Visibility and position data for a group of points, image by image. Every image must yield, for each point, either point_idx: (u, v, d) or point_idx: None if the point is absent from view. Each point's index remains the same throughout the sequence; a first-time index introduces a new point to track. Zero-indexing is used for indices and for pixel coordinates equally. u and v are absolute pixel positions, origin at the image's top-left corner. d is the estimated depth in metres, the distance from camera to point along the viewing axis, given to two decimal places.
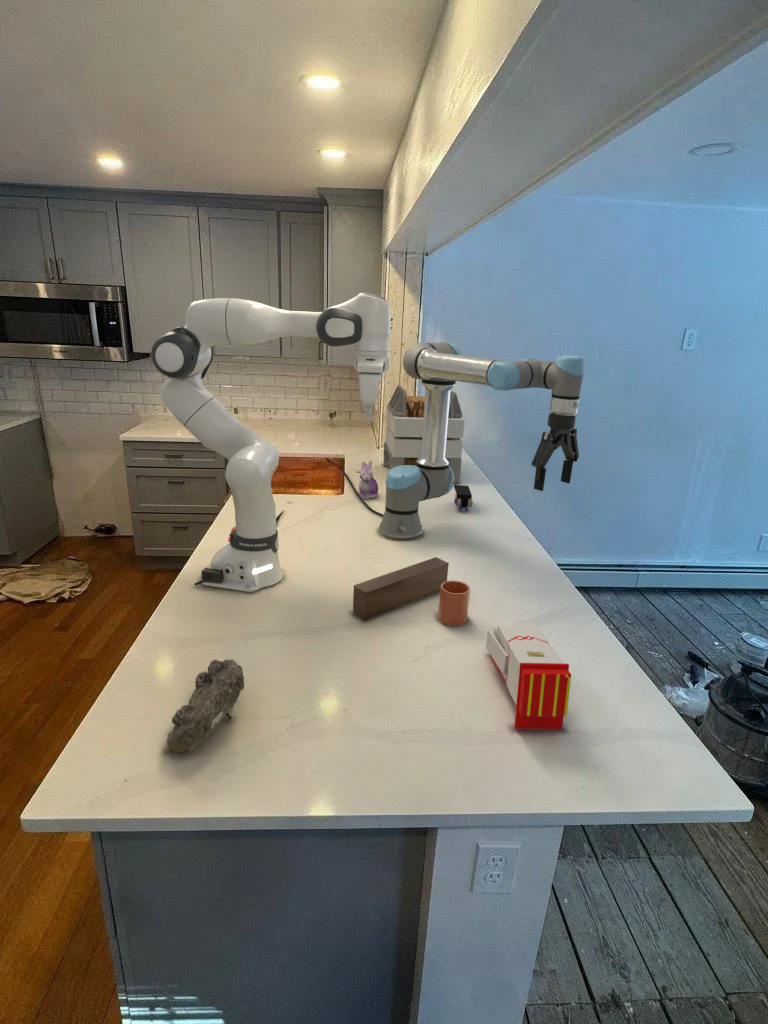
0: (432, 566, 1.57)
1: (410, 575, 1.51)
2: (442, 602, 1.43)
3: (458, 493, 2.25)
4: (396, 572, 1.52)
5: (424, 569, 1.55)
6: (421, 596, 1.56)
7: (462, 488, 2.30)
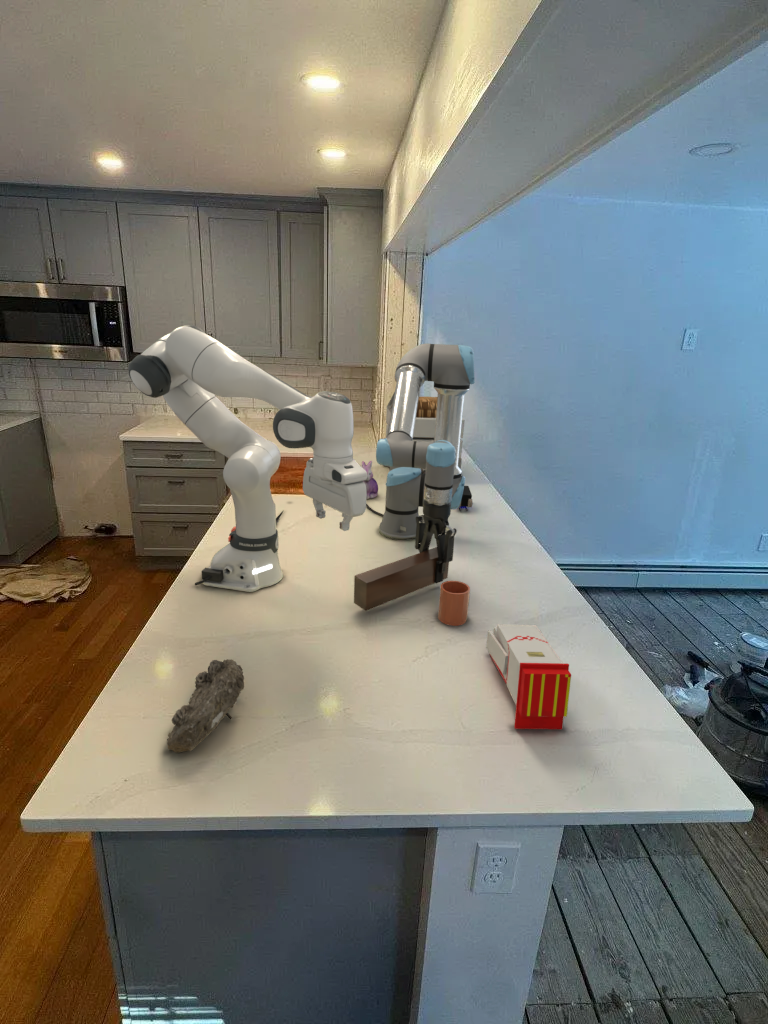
0: (434, 555, 1.57)
1: (411, 565, 1.51)
2: (442, 602, 1.43)
3: None
4: (397, 562, 1.52)
5: (425, 559, 1.55)
6: (422, 586, 1.55)
7: None
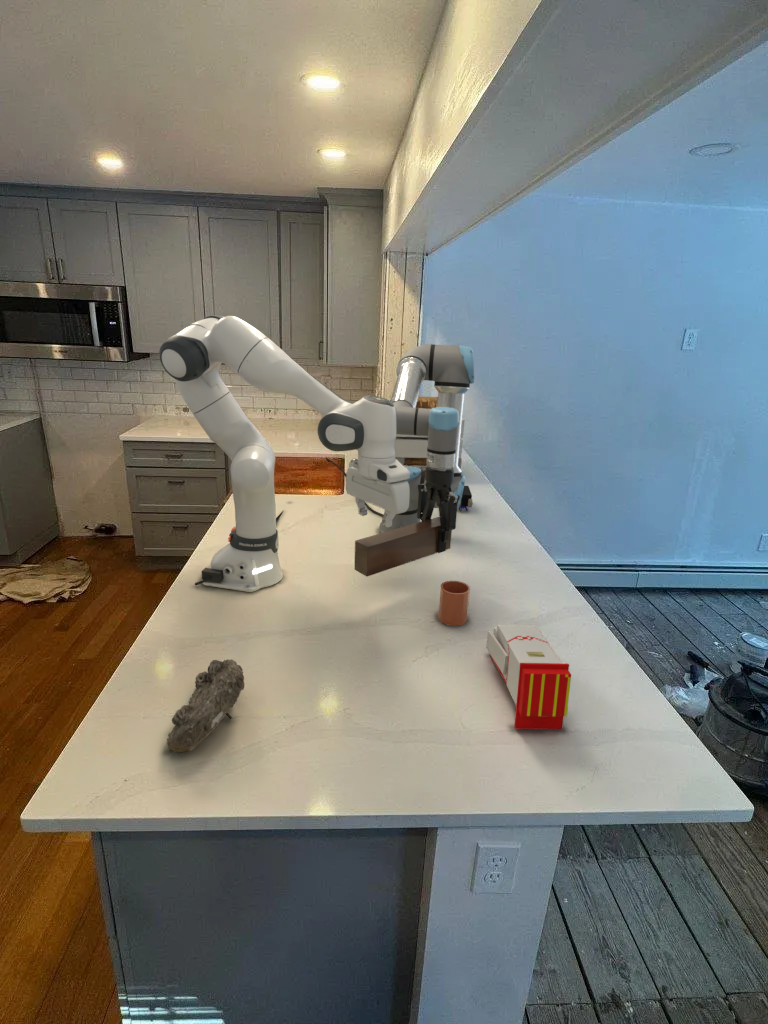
0: (436, 524, 1.53)
1: (413, 532, 1.47)
2: (442, 602, 1.43)
3: None
4: (399, 529, 1.48)
5: (428, 527, 1.51)
6: (424, 555, 1.52)
7: None
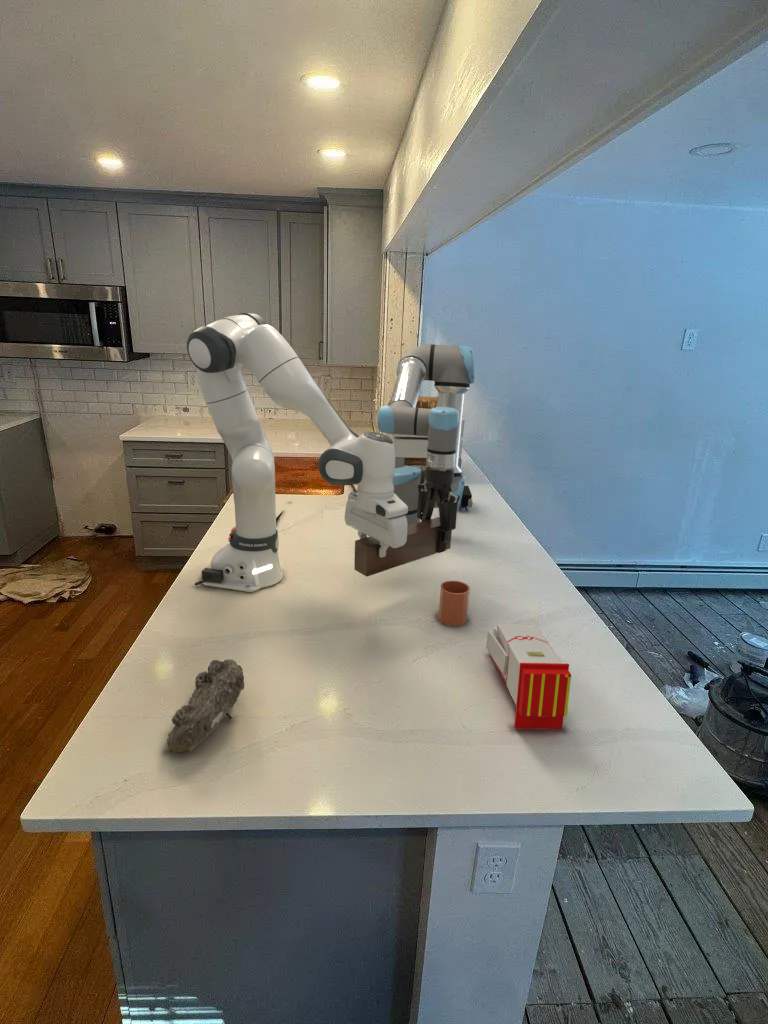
0: (436, 524, 1.53)
1: (413, 532, 1.47)
2: (442, 602, 1.43)
3: None
4: None
5: (428, 527, 1.51)
6: (424, 555, 1.52)
7: None
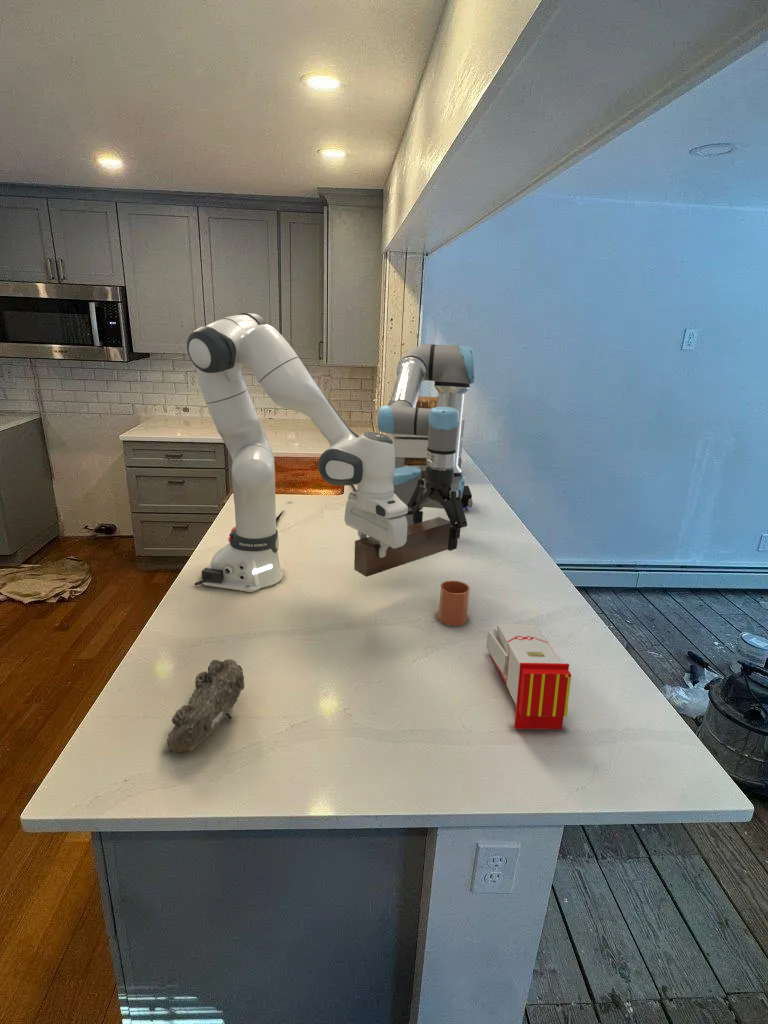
0: (436, 524, 1.53)
1: (413, 532, 1.47)
2: (442, 602, 1.43)
3: None
4: None
5: (427, 527, 1.51)
6: (424, 555, 1.52)
7: None
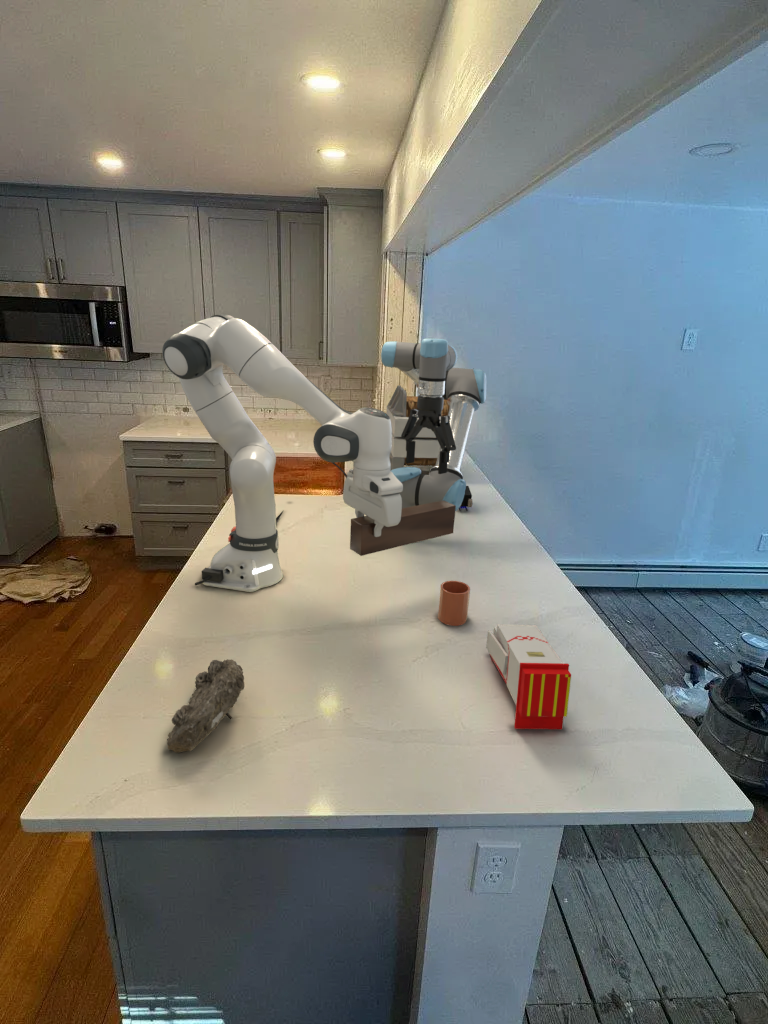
0: (438, 507, 1.49)
1: (412, 513, 1.44)
2: (442, 602, 1.43)
3: None
4: None
5: (429, 509, 1.47)
6: (424, 538, 1.48)
7: None
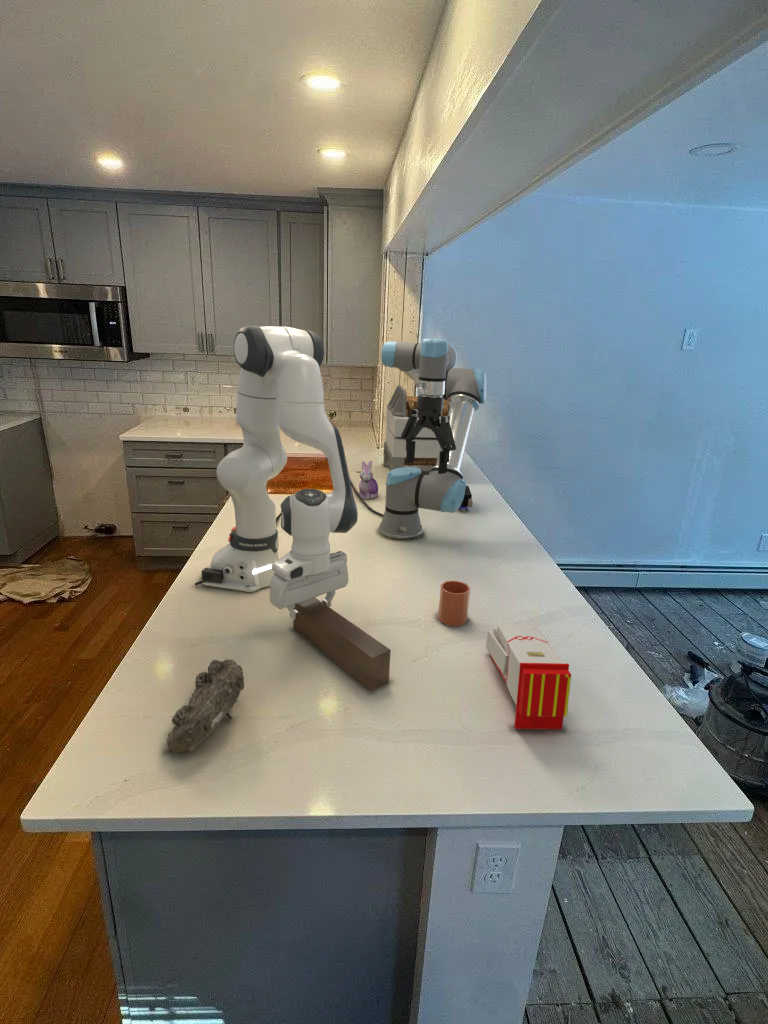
0: (361, 644, 1.19)
1: (333, 627, 1.25)
2: (442, 602, 1.43)
3: None
4: (341, 618, 1.29)
5: (351, 638, 1.21)
6: (342, 665, 1.24)
7: None
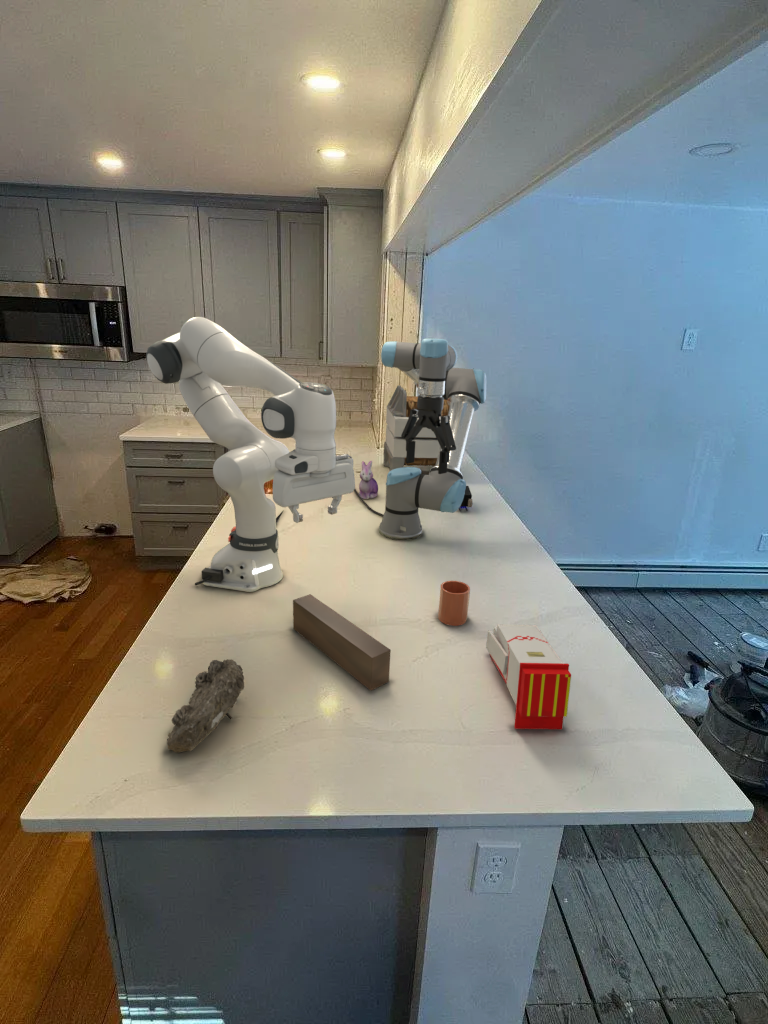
0: (361, 644, 1.19)
1: (333, 627, 1.25)
2: (442, 602, 1.43)
3: None
4: (341, 618, 1.29)
5: (351, 638, 1.21)
6: (342, 665, 1.24)
7: None
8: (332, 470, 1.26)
